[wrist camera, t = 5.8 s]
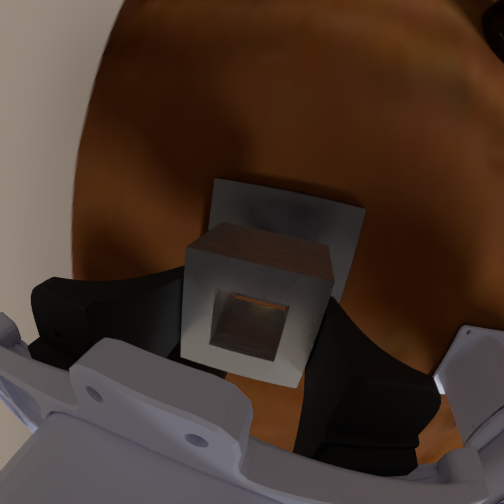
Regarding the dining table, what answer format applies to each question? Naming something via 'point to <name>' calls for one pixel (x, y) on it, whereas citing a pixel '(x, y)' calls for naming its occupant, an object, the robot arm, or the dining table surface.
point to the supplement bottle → (495, 26)
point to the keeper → (291, 220)
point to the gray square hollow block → (250, 314)
